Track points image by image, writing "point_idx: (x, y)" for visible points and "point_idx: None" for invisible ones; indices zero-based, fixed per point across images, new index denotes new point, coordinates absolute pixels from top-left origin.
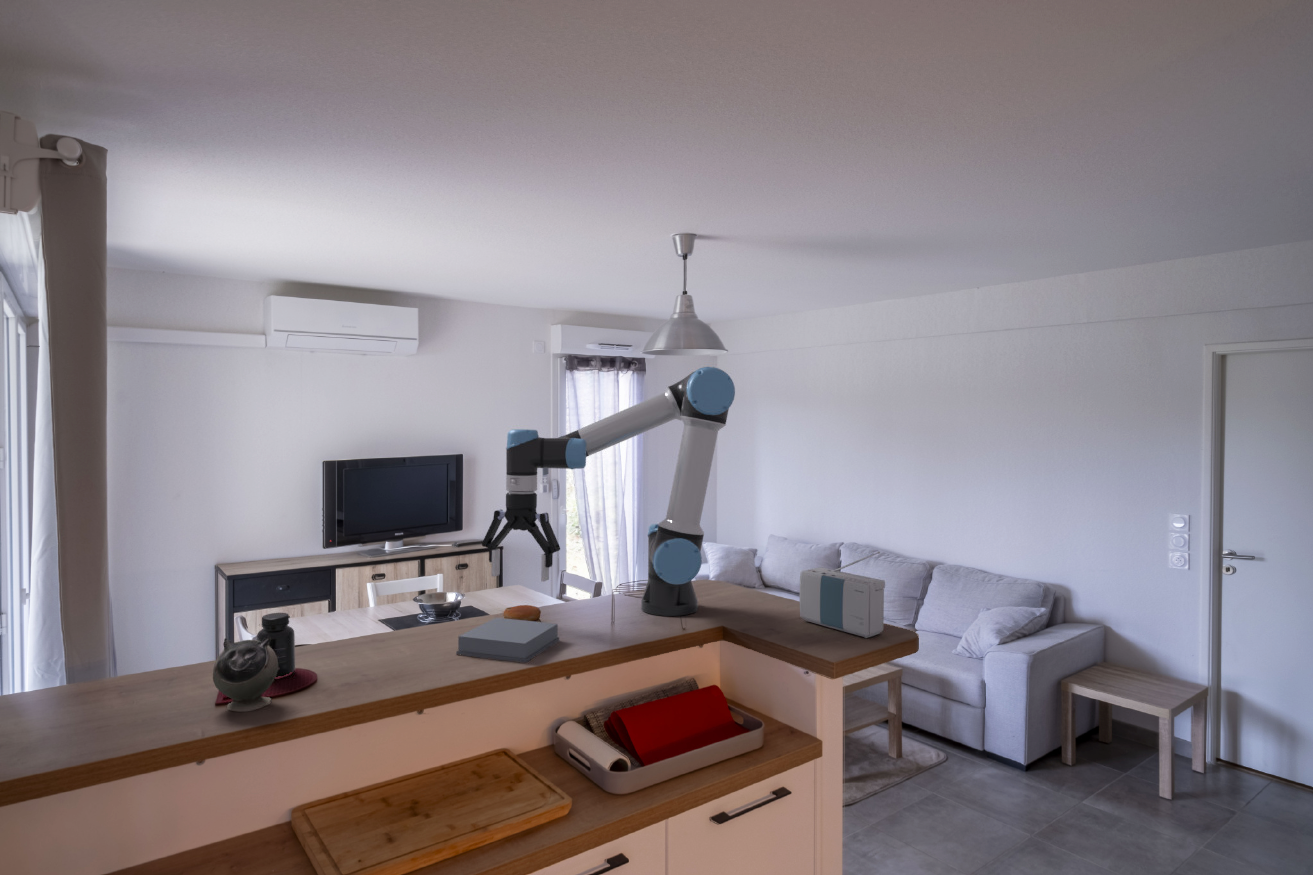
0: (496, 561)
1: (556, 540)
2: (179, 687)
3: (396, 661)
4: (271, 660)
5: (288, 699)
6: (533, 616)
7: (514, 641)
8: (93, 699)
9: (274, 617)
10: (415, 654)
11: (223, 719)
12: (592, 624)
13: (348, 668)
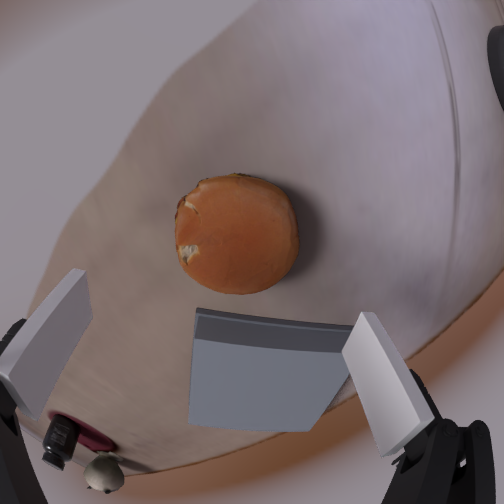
0: (56, 351)
1: (489, 472)
2: (43, 426)
3: (130, 413)
4: (119, 485)
5: (125, 455)
6: (285, 274)
7: (291, 429)
8: (32, 429)
9: (57, 468)
10: (131, 397)
11: (120, 464)
12: (421, 195)
13: (103, 421)
